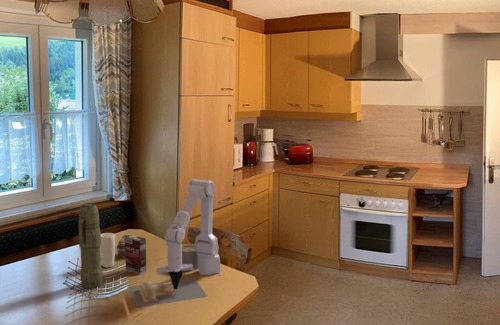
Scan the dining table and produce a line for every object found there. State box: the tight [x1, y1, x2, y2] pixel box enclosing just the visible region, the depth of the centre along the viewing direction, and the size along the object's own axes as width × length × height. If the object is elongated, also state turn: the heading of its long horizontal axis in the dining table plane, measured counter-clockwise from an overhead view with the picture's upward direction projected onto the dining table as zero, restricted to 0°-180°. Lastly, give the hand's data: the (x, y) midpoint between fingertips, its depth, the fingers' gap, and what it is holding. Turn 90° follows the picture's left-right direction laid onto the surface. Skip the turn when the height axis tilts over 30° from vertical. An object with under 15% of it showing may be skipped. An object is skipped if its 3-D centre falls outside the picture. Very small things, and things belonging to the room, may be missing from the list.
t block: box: [139, 280, 174, 301], centre depth 205 cm, size 12×12×3 cm
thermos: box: [77, 202, 103, 290], centre depth 212 cm, size 9×12×35 cm
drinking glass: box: [100, 232, 116, 268], centre depth 236 cm, size 7×7×15 cm
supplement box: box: [125, 234, 147, 275], centre depth 229 cm, size 9×5×16 cm, turn 62°
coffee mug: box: [182, 243, 198, 272], centre depth 234 cm, size 13×10×10 cm
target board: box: [128, 277, 208, 308], centre depth 207 cm, size 28×20×1 cm
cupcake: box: [116, 234, 132, 260], centre depth 250 cm, size 10×10×10 cm
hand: (175, 288), depth 208 cm, fingers closed
